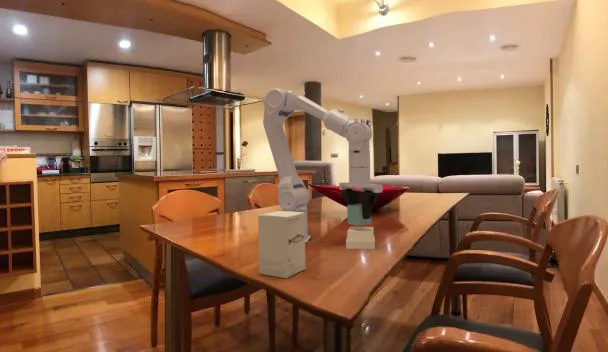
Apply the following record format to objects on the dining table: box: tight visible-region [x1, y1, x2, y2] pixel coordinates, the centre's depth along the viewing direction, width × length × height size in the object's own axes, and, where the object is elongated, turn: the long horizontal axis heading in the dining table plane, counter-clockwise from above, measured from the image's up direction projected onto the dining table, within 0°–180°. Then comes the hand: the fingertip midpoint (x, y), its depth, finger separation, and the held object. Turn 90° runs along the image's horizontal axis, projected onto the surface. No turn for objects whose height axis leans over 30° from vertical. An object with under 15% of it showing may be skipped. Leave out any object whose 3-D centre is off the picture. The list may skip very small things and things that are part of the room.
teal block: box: [346, 203, 372, 227], centre depth 102 cm, size 4×4×5 cm
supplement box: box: [257, 210, 306, 280], centre depth 80 cm, size 7×7×13 cm
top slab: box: [346, 226, 375, 241], centre depth 102 cm, size 6×6×2 cm
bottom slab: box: [345, 234, 376, 250], centre depth 102 cm, size 8×8×2 cm
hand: (360, 217), depth 102 cm, fingers closed on teal block, 4 cm apart
